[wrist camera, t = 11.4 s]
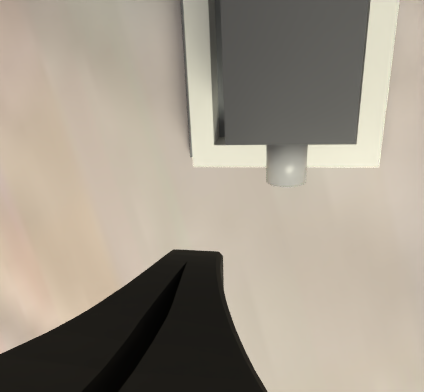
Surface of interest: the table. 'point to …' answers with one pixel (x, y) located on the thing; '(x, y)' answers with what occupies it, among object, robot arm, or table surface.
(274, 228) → the table surface
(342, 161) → the socket plate
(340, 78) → the plug
